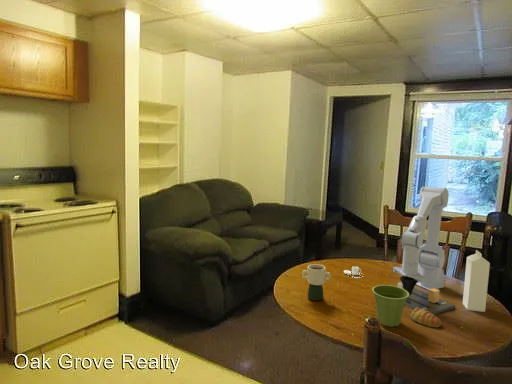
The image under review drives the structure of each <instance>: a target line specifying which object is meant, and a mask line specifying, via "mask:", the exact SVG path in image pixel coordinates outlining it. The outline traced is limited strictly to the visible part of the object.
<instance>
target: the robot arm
mask: <svg viewBox="0 0 512 384" xmlns="http://www.w3.org/2000/svg"><path fill="white" fill-rule="evenodd" d="M449 196H450V195H449V190H448V188H446V187H435V186H434V187H433V186H426V185H425V186H422V187H421V188H420V190H419V199H420V205H419V208H418V212H417V214H416V215H414V216H413V217H412V218H411V220H410V223H409V225H408V228H407V229H406V230H405V231H403V233H402V234H401V240H400V241H401V249H402V264H401V265H402V267H398V266H393V267H392V272H393V273H397V274H399V275H401V276H400V277H399V280H400V281H401V282H402V284H403V287H404V290H406V291H407V292H408V293H409V296H410V295H411V294H412V291H413V289H414V288H415V286H418V287H420V288H423V289H425V290H428V291H429V289H433V288H435V289H437V290H440V289H442V288H445V285H444V275H445V273H444V272H445V271H444V269H443V267H444V265H445V262H446V261H445V260H446V259H445V258H446V257H445V250H444V249H443V248H442V247H441V246H440V245H439V242H440V241H439V239H440V231H441V223H442V214H443V210H444V208H447V207H448V202H449ZM427 218H428V220H427ZM426 228H427V229H426ZM425 230H427V231H426V238H425V243H424V244H423V241H424V237H425V235H424V232H425ZM419 266H420V273H419ZM401 282H400V283H401Z"/></svg>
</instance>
